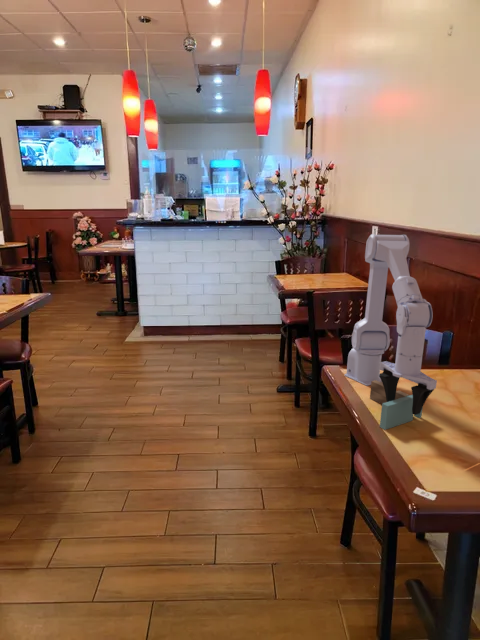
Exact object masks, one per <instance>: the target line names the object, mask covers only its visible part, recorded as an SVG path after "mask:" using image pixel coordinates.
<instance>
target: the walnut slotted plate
mask: <svg viewBox="0 0 480 640" xmlns="http://www.w3.org/2000/svg"><path fill="white" fill-rule="evenodd" d="M409 395H410V394H408V393H406V392H404V391H401V390H396V396H395V400H396V399H399V398H403V397H406V396H409ZM369 399H370V400H372V401H374V402H376V403H379V404H380V405H382V404H383V403H386V402H387V400H386V394H385V389H384V386H383V383H382V382H379V381H377V380H374V381H371V385H370V391H369Z"/></svg>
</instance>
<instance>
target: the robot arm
mask: <svg viewBox="0 0 480 640" xmlns="http://www.w3.org/2000/svg"><path fill="white" fill-rule="evenodd" d="M365 242H366V245H365V251H364V252H365V253H364V259H365V260H364V262H366V263H368V264H369V276H368V283H367V284H368V285H367V286H368V287H367V293H366V303H365V304H366V305H365V313H364V318H363V319H360V320H359V321H357V322H356V323H355V324H354V326H353V331H352V333H351V345H352V346H351V347H352V348H351V350H350V351H349V352H348V354H347V355H348V356H347V363H346V365H347V366H346V373H345V374H344V377H347V378H349V379H351V380H353V381H355V382H356V383H360V384H362V385H364V386H367V387H369V386H371V381H374V380H377V381H379V382H381V383H383V386H384V389H385V394H386V400H387V402H389V401H393V400H395V396H396V391H397V387H398V384H399V381H400V378H403V379H405V380H407V381H410V382H413V383H415V384H417V385H413V386H411V388H410V389H411V395H413V406H412V414H413V416H414V415H416V414H419V413H420V412H421V410H422V411H423V409H422V407H424V405H425V403H426V401H427V399H428V398H429V397H430V395H431V394H432V393H433V392H434V391H435V389H437V379H434V378H433V377H430V376H429V375H427V374H426V373H424V372H422V371H421V370H422V362H423V356H424V355H423V353H424V347H425V339H426V331H427V328H429V327H430V326H431V324H432V322H433V318H434V317H433V314H434V313H433V308H432V307H433V306H432V304H431V303H430V302H428V301H427V299H425V298H424V297H423V295H422V293H421V291H420V287H419V284H418V281H417V279H416V278H414V277H412V276H410V275H411V274H410V270H409V265H408V261H407V257H408V255H409V251H410V238H409V237H408V236H407V234H375V233H371V234H370V235H369V236H368V238H367V240H366V241H365ZM389 271H390V273H391V275H392V278H393V280H394V282H393V284H392V286H391V289H392V293H393V295H394V298H395V302H396V306H397V309H396V311H395V313H396V315H395V317H396V318H395V319H396V332H397V333H398V336H397V345H396V352H395V353H396V354H395V363H394V362H390V361H387V360H386V361H382V356H383V354H385V352H386V351H388V349H389V347H390V343H391V337H390V336H391V335H390V328H389V326H388V324H387V323H386V322H384V321H383V315H384V307H385V297H386V291H387V290H386V289H387V282H388V273H389ZM381 371H382V372H381Z"/></svg>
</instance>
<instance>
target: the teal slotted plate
mask: <svg viewBox="0 0 480 640" xmlns="http://www.w3.org/2000/svg"><path fill="white" fill-rule="evenodd" d="M408 395H409V396H406V397H403V398H399V399H396V400H393V401H389V402H386V403H383V404H381V412H380V420H379V428H381V429H382V430H384V431H386V430H389V429H392V428H396V427H398V426H400V425H404V424H406V423H410V422H412V421H414V420H413V418H414V416H415V417H416V418H418V419H421V418H422V416H423V415H422V414H423V410H424V409H423V407H424V406H423V407H422V410H421V412H420V413H419V414H416V415H414V414H412V406H413V394H408Z"/></svg>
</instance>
